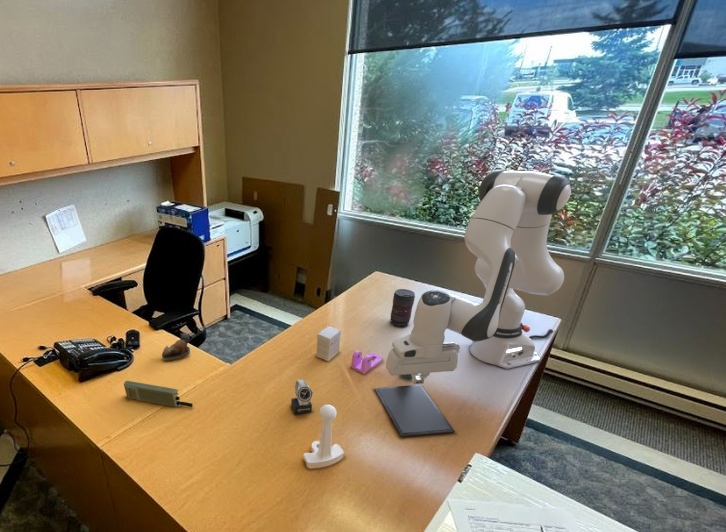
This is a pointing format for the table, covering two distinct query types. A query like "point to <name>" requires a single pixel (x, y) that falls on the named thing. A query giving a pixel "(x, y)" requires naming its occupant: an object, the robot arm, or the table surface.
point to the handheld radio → (153, 394)
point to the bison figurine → (177, 348)
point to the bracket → (364, 361)
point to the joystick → (324, 442)
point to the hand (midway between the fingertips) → (417, 382)
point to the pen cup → (407, 376)
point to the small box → (328, 343)
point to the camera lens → (402, 307)
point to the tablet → (413, 411)
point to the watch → (302, 398)
